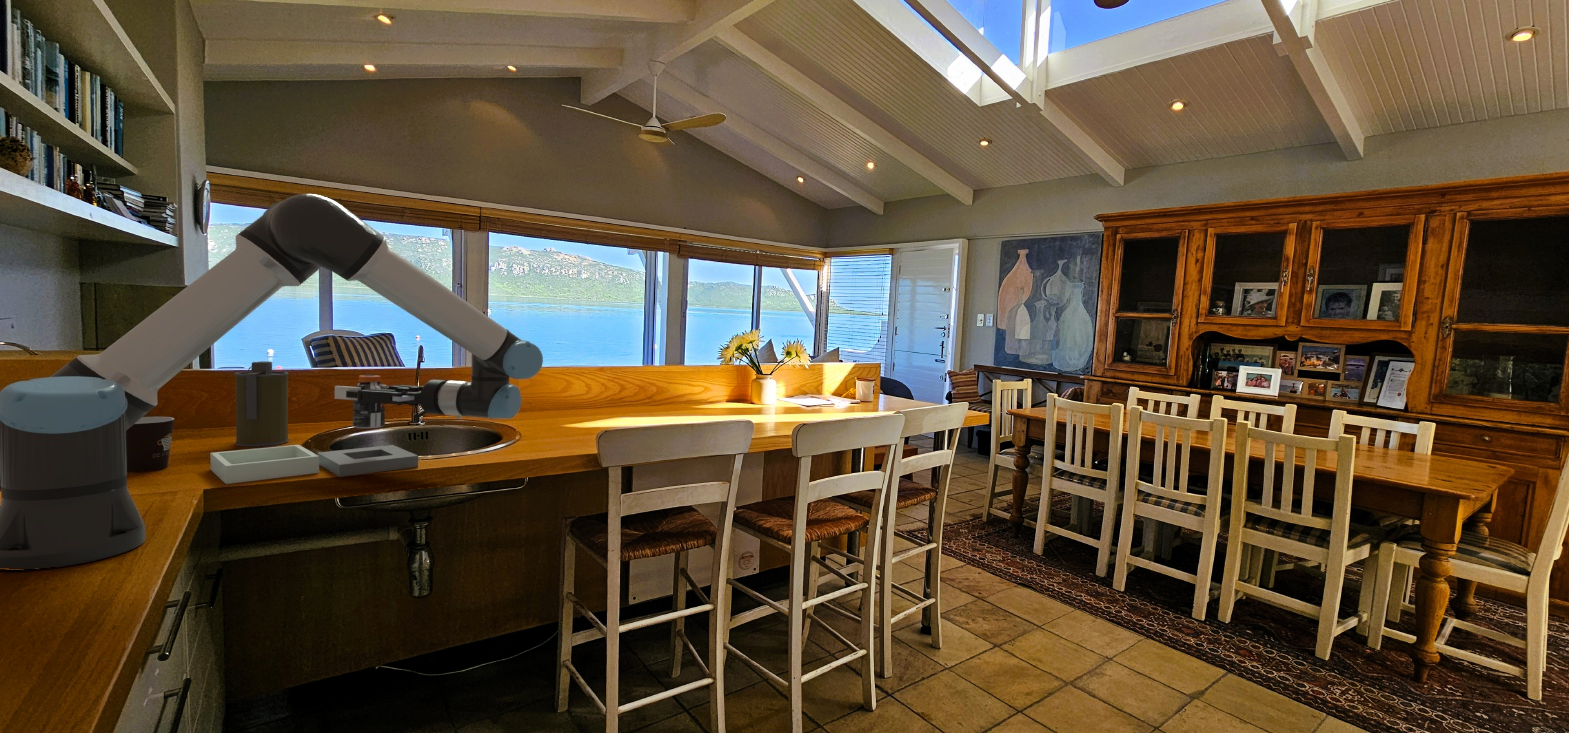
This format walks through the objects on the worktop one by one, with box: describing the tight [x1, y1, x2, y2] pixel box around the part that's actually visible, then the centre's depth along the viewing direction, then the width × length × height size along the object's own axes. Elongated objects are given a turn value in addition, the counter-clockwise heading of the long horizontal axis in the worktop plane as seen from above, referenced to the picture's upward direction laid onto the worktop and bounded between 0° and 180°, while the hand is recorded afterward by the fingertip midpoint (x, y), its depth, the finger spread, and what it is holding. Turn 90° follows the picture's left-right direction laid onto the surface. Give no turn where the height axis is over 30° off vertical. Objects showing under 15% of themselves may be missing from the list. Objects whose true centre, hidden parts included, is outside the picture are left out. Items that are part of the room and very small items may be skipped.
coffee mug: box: [126, 416, 175, 474], centre depth 135 cm, size 12×9×10 cm
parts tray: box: [209, 444, 320, 485], centre depth 136 cm, size 15×15×4 cm
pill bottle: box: [352, 374, 386, 429], centre depth 145 cm, size 6×6×11 cm
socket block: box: [317, 444, 419, 478], centre depth 145 cm, size 15×15×2 cm
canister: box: [234, 360, 290, 448], centre depth 162 cm, size 11×10×20 cm
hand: (347, 390), depth 145 cm, fingers closed on pill bottle, 6 cm apart
